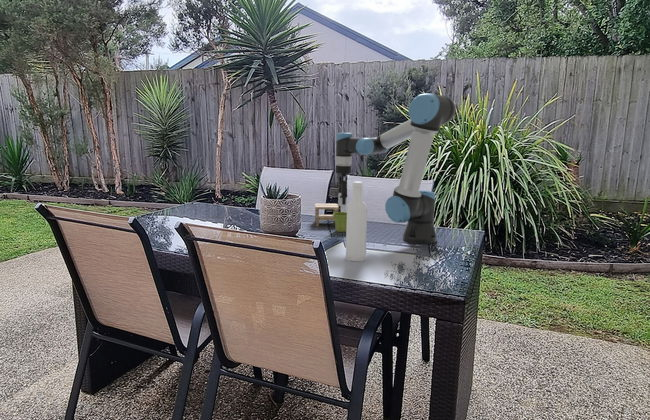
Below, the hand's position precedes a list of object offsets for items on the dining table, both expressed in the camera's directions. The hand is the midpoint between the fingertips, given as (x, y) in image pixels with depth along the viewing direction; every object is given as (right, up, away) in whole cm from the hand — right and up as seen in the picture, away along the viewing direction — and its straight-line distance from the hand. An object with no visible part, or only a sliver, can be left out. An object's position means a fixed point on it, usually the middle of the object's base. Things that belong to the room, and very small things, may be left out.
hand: (342, 208), depth 212 cm
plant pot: (0, -11, +2) cm, 12 cm away
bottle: (+4, -20, -44) cm, 49 cm away
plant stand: (-8, -8, +17) cm, 20 cm away
